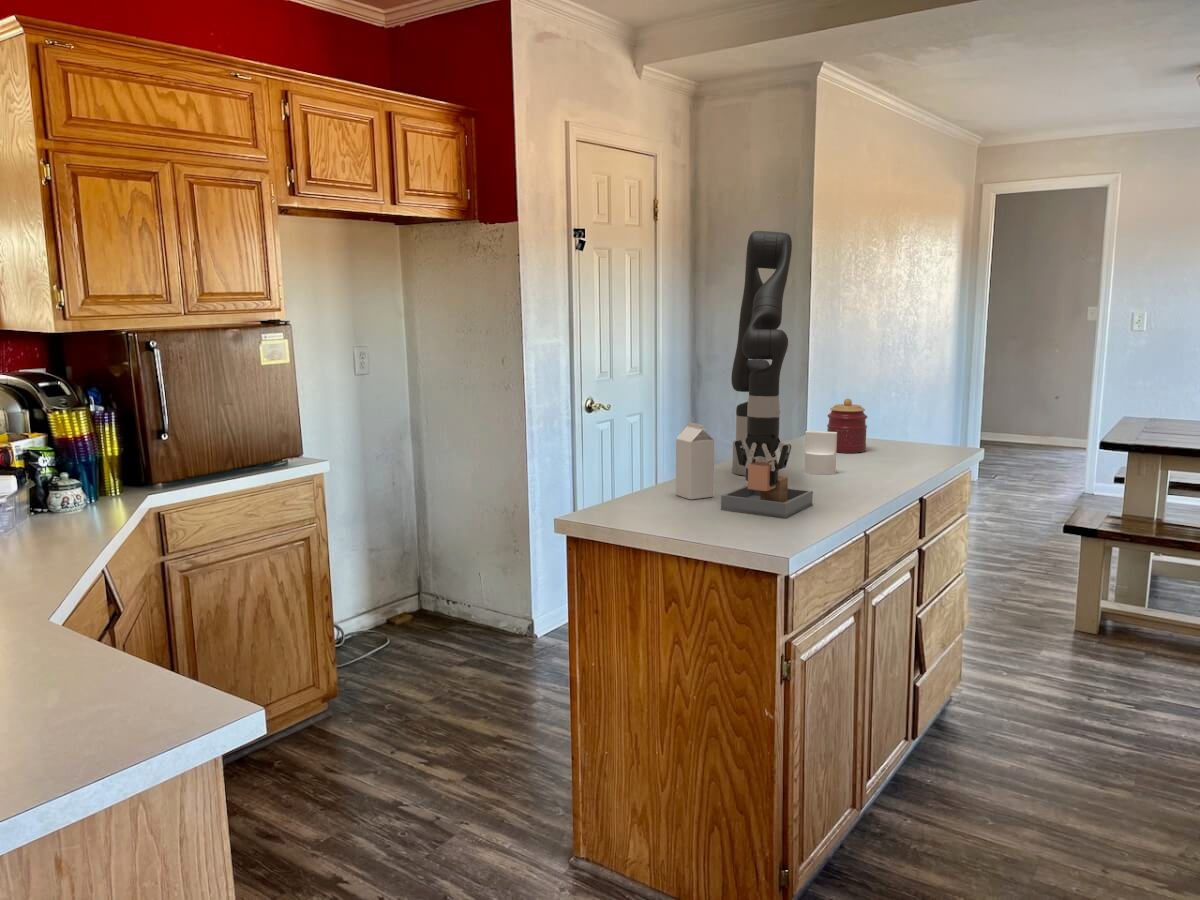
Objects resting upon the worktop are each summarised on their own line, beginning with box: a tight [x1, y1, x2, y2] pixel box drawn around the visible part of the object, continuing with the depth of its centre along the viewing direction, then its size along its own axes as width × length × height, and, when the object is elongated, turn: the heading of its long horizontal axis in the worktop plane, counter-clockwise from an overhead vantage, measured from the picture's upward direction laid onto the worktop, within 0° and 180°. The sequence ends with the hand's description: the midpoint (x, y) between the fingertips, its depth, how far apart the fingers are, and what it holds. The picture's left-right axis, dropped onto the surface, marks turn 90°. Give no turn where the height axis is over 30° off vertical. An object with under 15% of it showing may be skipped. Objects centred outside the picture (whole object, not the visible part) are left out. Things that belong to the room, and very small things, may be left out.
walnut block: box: [760, 475, 789, 503], centre depth 218 cm, size 5×5×6 cm
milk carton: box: [675, 421, 715, 500], centre depth 227 cm, size 7×7×19 cm
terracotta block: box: [747, 461, 776, 491], centre depth 212 cm, size 5×5×6 cm
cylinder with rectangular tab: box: [803, 430, 837, 476], centre depth 259 cm, size 9×9×12 cm
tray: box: [720, 484, 814, 519], centre depth 215 cm, size 17×17×4 cm
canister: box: [826, 398, 868, 454], centre depth 296 cm, size 13×13×18 cm
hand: (761, 484), depth 212 cm, fingers closed on terracotta block, 5 cm apart
